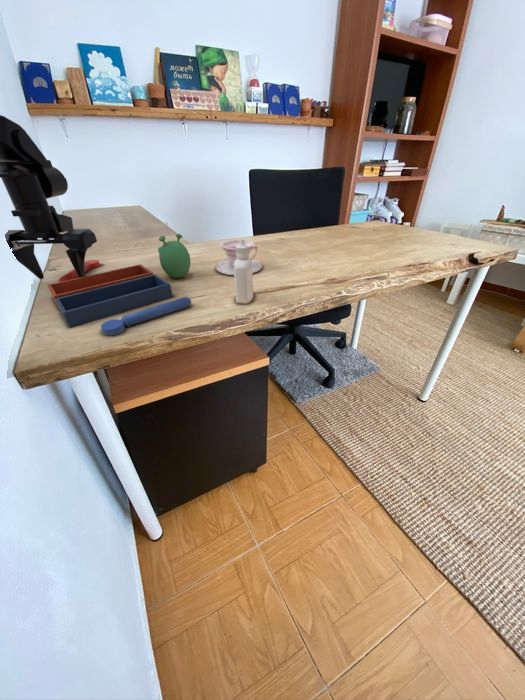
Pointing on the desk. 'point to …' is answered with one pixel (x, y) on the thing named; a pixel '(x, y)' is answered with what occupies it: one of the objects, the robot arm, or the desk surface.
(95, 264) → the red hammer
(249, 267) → the eye dropper bottle
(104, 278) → the far bin
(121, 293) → the near bin
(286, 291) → the desk surface
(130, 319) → the blue spoon
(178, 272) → the alien toy
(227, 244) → the teacup
